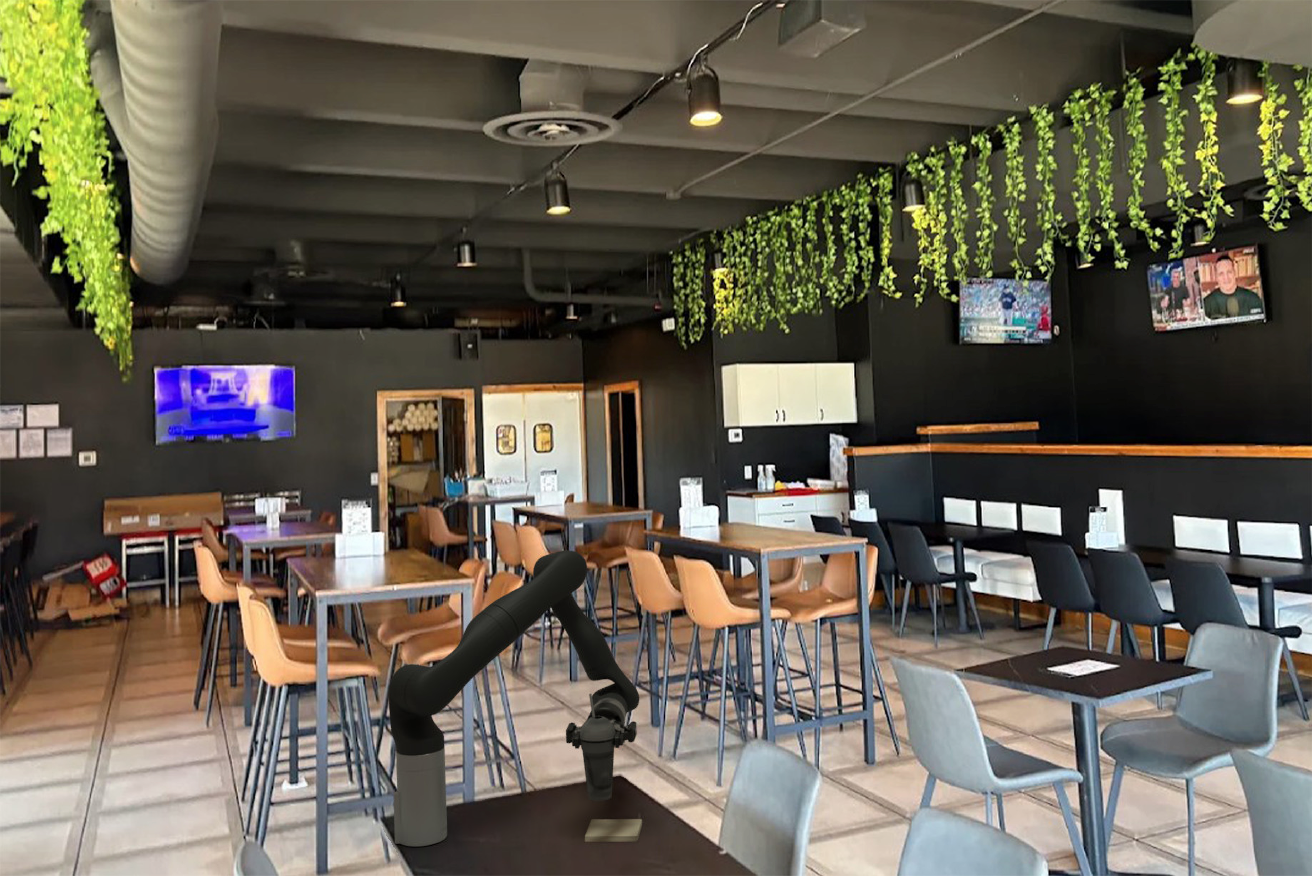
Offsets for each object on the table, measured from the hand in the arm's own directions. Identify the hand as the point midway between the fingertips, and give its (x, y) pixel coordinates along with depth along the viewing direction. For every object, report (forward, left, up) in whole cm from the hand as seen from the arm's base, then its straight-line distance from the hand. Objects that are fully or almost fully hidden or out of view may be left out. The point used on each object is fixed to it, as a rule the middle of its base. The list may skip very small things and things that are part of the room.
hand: (596, 743), depth 196 cm
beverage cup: (0, +2, -11) cm, 11 cm away
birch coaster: (+3, +2, -18) cm, 18 cm away
